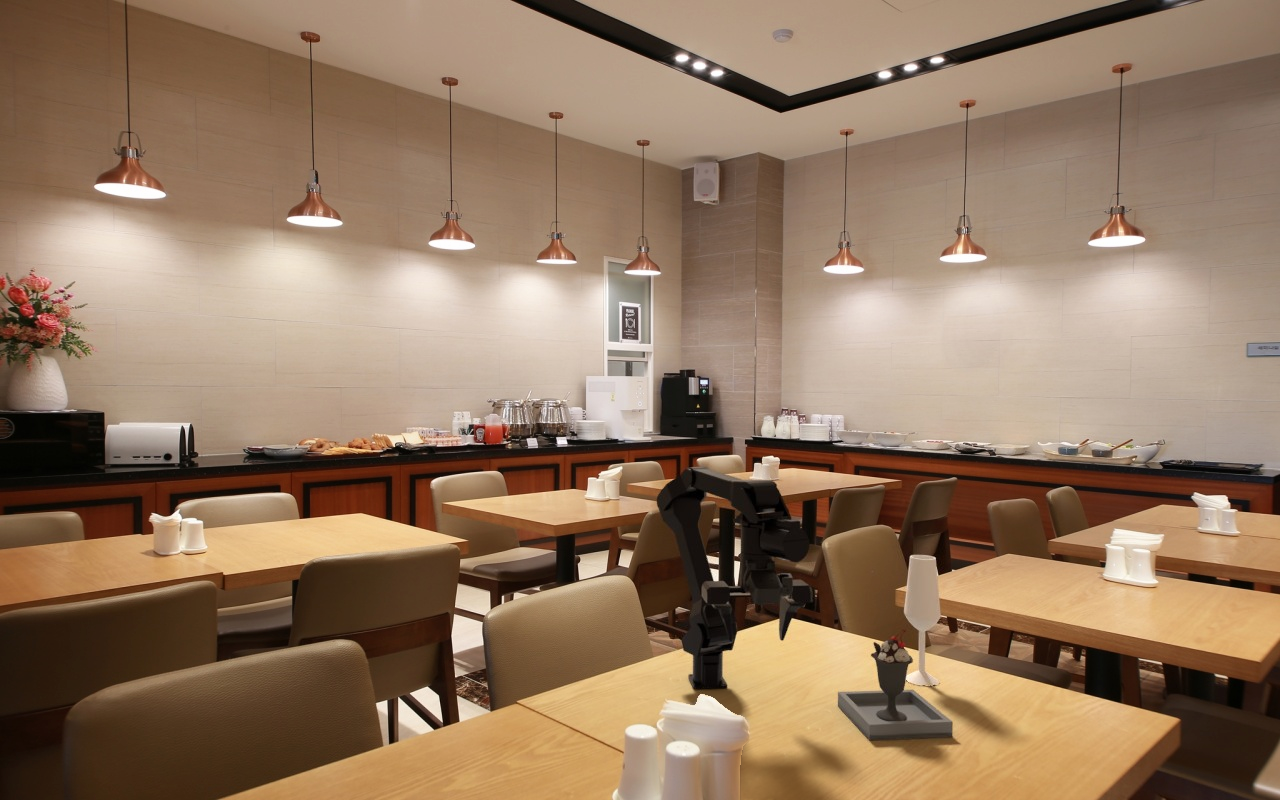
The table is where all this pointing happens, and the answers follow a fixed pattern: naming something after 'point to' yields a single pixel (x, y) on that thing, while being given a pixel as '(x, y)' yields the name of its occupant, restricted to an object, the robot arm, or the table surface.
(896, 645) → the sundae
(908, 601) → the champagne flute
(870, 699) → the tray
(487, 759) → the table surface
